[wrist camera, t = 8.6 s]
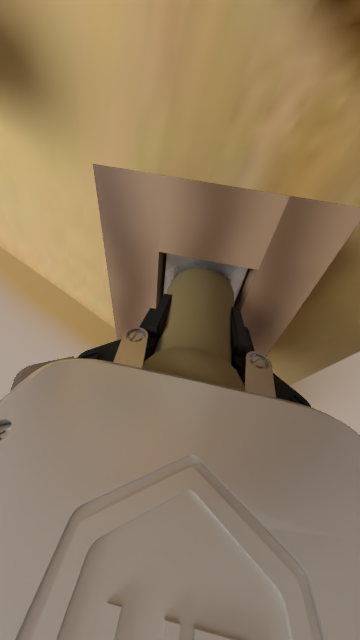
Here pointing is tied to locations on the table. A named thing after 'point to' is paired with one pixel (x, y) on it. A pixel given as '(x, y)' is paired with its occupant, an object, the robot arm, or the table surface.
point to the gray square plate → (182, 263)
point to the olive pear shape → (198, 330)
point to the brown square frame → (216, 243)
